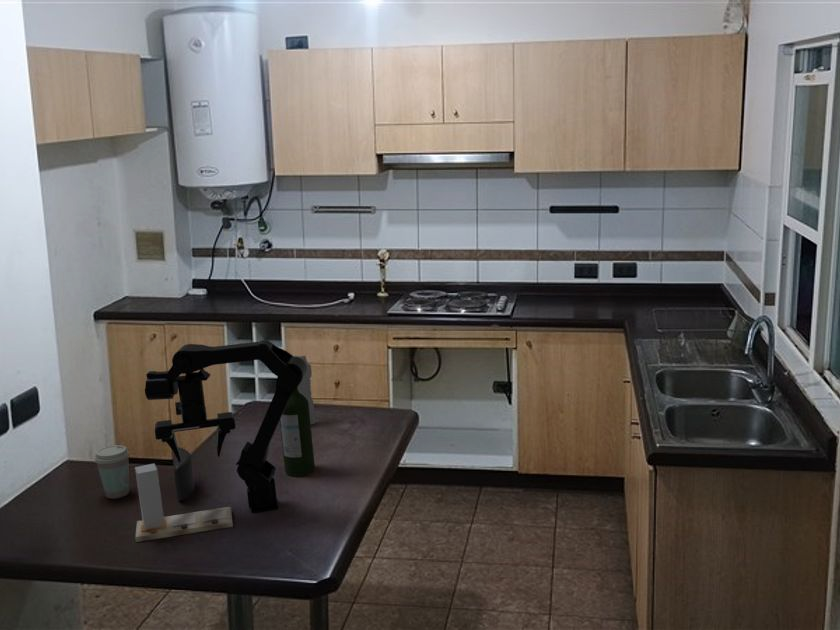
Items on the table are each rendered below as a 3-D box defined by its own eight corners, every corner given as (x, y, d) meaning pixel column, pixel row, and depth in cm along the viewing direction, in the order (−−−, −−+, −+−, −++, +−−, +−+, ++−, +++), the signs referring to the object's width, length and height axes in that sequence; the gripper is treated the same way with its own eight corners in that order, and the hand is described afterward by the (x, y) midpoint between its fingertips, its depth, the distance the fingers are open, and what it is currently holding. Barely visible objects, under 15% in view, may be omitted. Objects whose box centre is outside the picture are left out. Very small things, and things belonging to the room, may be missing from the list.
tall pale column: (286, 432, 290) (278, 361, 284) (281, 428, 293) (273, 358, 288) (319, 424, 294) (312, 354, 289) (313, 420, 298) (307, 351, 293)
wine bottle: (317, 464, 263) (307, 357, 256) (311, 476, 255) (300, 366, 248) (288, 465, 264) (277, 359, 257) (282, 477, 256) (270, 367, 249)
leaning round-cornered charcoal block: (196, 500, 245) (191, 465, 243) (177, 503, 244) (172, 468, 242) (194, 476, 261) (189, 443, 258) (176, 479, 260) (172, 446, 257)
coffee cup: (124, 501, 248) (118, 457, 245) (94, 500, 249) (87, 456, 247) (140, 487, 256) (134, 444, 253) (110, 486, 258) (104, 444, 255)
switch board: (231, 511, 238) (230, 504, 237) (232, 526, 229) (232, 519, 229) (137, 525, 233) (136, 518, 233) (136, 542, 224) (135, 534, 224)
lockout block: (162, 518, 233) (154, 463, 229) (164, 525, 228) (157, 469, 225) (142, 522, 231) (134, 467, 228) (145, 530, 227) (137, 473, 224)
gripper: (229, 383, 243) (236, 442, 247) (152, 393, 239) (160, 452, 243) (232, 396, 233) (238, 457, 236) (151, 406, 229) (159, 469, 232)
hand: (199, 458), depth 237 cm, fingers open, 9 cm apart
